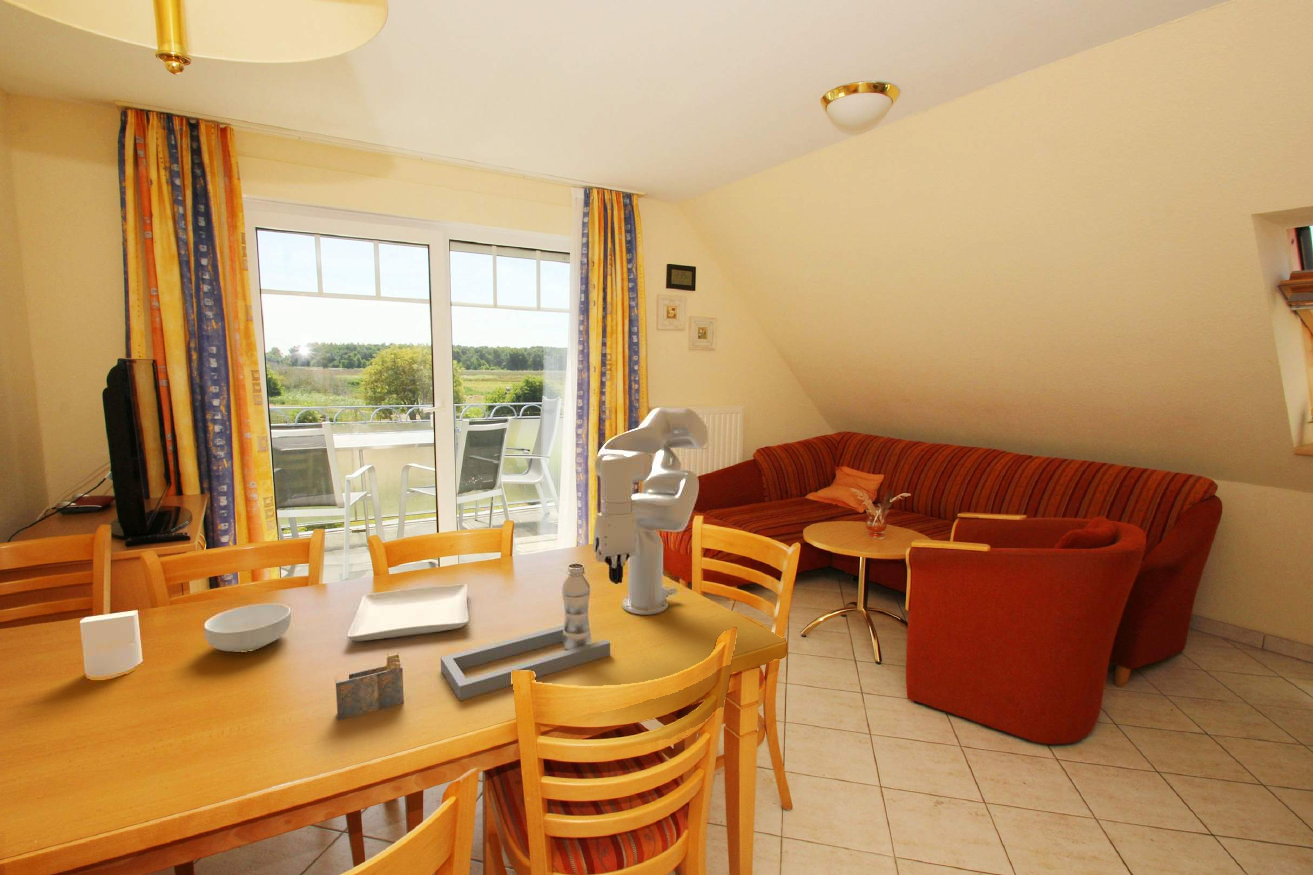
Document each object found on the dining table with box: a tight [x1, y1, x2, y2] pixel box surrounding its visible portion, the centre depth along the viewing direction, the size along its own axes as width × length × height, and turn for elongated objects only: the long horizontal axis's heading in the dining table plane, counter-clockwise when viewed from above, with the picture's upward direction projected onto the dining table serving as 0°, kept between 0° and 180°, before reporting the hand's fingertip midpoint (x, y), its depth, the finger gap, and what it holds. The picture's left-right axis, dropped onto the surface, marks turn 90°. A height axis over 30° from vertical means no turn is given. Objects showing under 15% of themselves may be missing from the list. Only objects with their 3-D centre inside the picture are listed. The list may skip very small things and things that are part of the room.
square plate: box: [346, 583, 470, 642], centre depth 154 cm, size 27×27×4 cm
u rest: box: [440, 624, 611, 701], centre depth 131 cm, size 34×14×3 cm, turn 124°
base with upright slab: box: [79, 610, 143, 677], centre depth 126 cm, size 9×9×12 cm
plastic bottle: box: [561, 563, 592, 651], centre depth 137 cm, size 6×7×20 cm
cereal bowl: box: [203, 602, 292, 652], centre depth 138 cm, size 17×17×7 cm
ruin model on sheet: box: [334, 653, 405, 721], centre depth 113 cm, size 11×3×10 cm, turn 121°
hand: (615, 581), depth 142 cm, fingers closed
